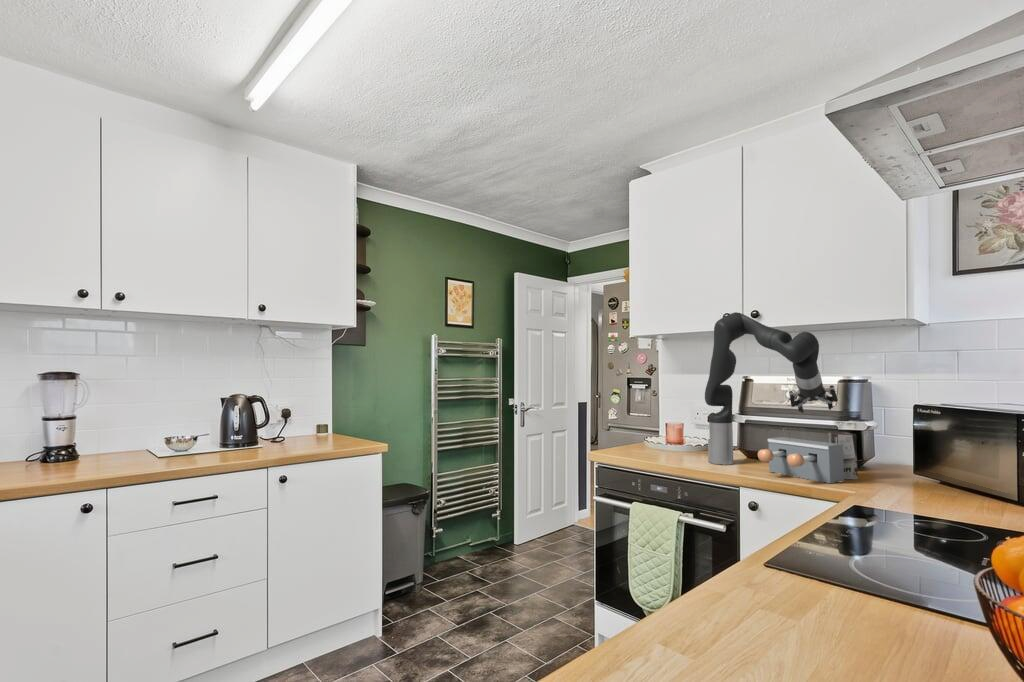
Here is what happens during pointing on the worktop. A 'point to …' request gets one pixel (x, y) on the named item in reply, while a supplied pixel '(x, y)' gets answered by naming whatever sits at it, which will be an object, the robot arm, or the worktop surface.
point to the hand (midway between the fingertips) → (815, 409)
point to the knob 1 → (769, 455)
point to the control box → (822, 469)
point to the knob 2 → (799, 459)
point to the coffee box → (847, 452)
